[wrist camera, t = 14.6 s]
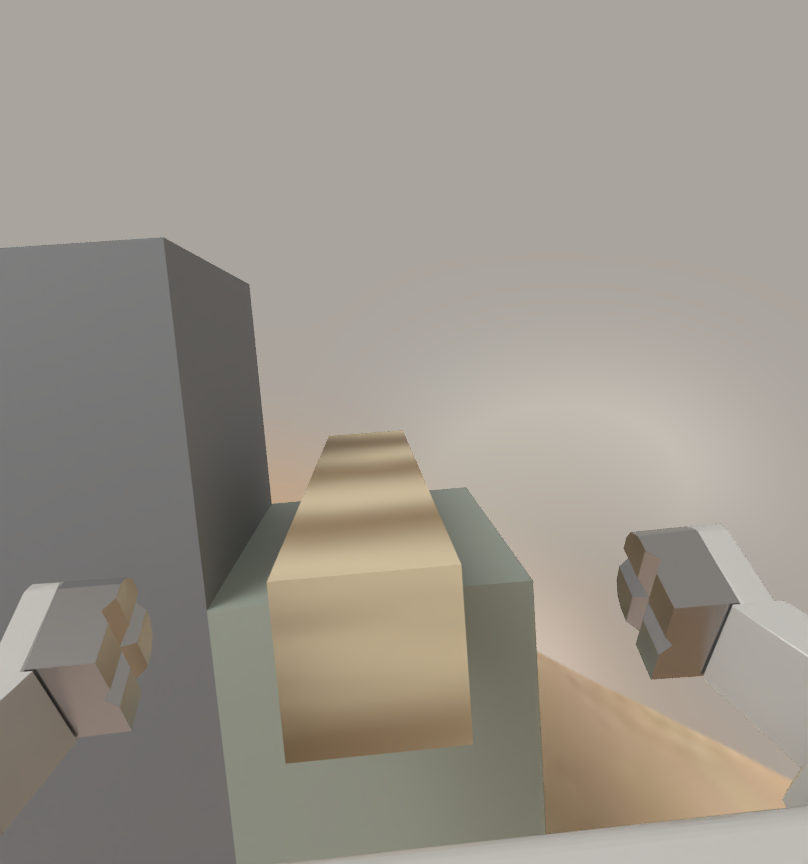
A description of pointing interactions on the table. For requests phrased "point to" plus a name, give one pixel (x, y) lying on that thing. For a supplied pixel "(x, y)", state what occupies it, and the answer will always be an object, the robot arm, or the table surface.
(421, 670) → the batten
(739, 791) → the table surface
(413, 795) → the step stand
